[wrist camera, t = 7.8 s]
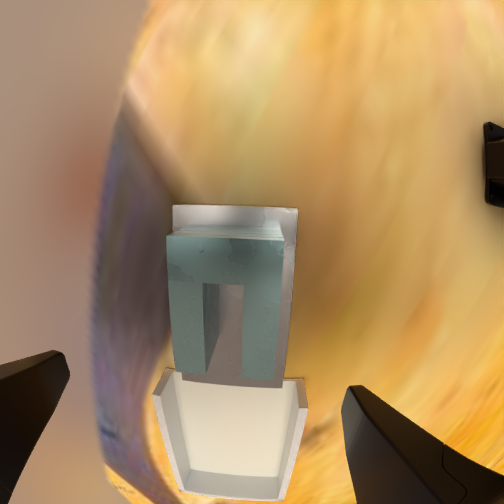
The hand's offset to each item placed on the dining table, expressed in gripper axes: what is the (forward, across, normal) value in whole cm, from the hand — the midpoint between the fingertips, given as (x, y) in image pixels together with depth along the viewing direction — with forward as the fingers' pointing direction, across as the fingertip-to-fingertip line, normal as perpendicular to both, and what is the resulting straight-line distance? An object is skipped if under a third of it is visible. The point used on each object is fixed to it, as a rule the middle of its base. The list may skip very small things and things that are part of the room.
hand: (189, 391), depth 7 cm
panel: (+11, 0, +1) cm, 11 cm away
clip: (+9, 0, 0) cm, 9 cm away
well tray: (+11, 0, +14) cm, 18 cm away
